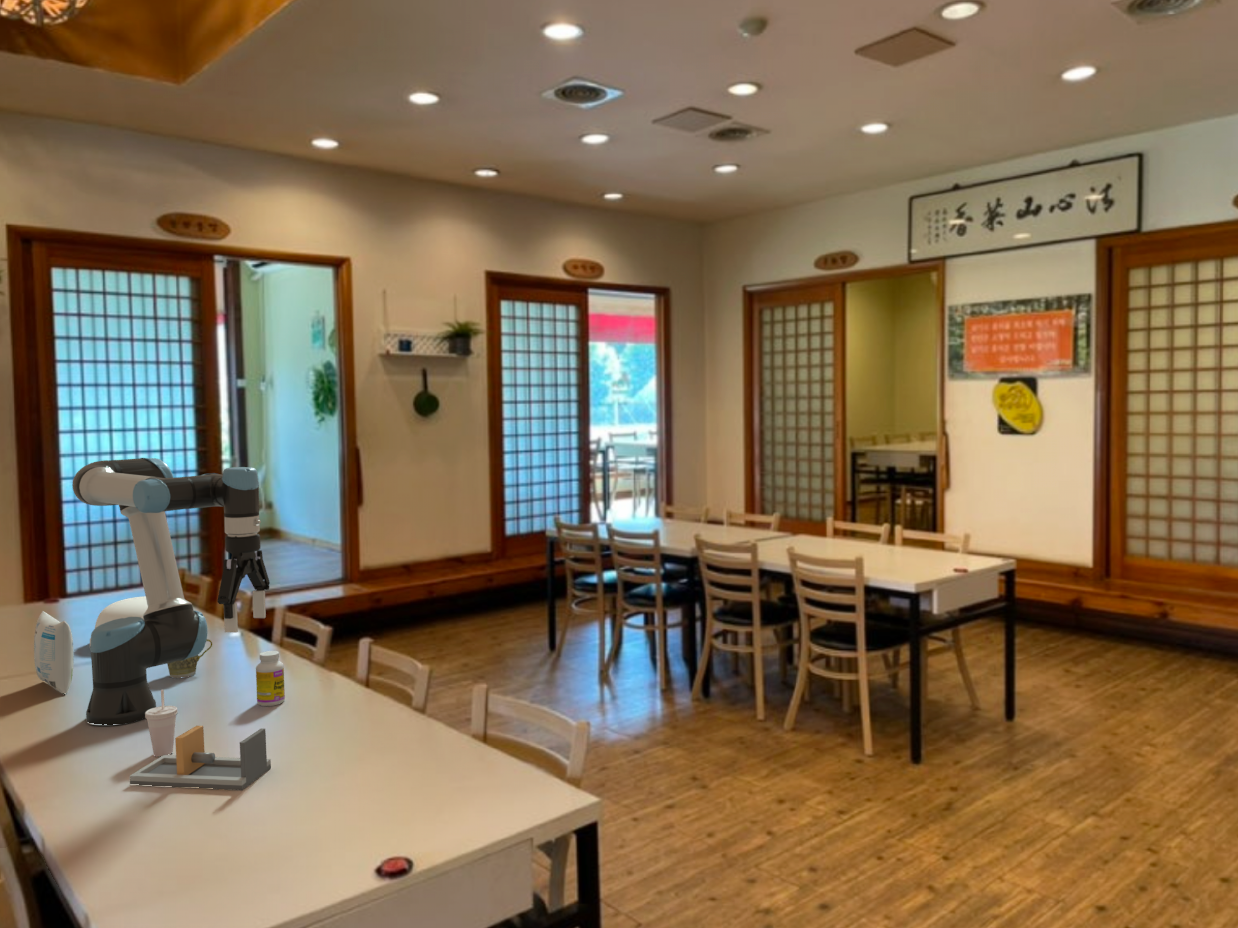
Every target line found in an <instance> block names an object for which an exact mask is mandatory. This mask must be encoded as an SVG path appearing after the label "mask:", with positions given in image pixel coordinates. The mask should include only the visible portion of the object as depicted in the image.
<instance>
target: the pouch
mask: <svg viewBox="0 0 1238 928" xmlns="http://www.w3.org/2000/svg"><path fill="white" fill-rule="evenodd" d="M33 637H34V638H33V646H34V648H33V653H34V654H33V659H34V667H35V672H36V675H37V677H38V678H39V680H41V682H43V681H45V682H46V683H47V684H48V685H49V686H51V687H53V688H54V689H55V690H56V691H58V692H59V693H61V694H62V693H68V692H69V690H70V688H71V684H72V680H73V673H74V663H75V662H74V661H75V659H74V657H75V656H74V653H75V652H74V639H73V638H74V637H73V634H72V630H71V627H70V625H69V623H67V621H65V620H62V621H59V620H58V619H56V618H55V617H53V616H52V615H50V614H49V613H47V612H45V611H44V610H42V611H41V613H40V614H39V616H38V618H37V621H36V625H35V631H34V636H33Z"/></svg>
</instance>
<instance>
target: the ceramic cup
mask: <svg viewBox="0 0 1238 928" xmlns="http://www.w3.org/2000/svg"><path fill="white" fill-rule="evenodd" d="M206 642H210V646H209V647H208V648H206V650H204V651H203V652H202V654H198V655H197V656H194V657H191V658H187V659H186V660H183V661H175V662H171V663H167V668H168V673H169V677H170V678H171V677H173V678H172V679H182V678H181V677H185V678H189V677H188V676H190V677H191V675H192V676H194V674H195V675H196V672H197V667H198V666H197V664H198V662H199V660H200V659H201V658H202V657H203V656H204V655H205V653H206V652H208V651H209V650H210V649H211V648H212V647H213V641H212V640H211V639H209V638H207V641H206Z"/></svg>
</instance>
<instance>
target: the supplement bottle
mask: <svg viewBox="0 0 1238 928" xmlns="http://www.w3.org/2000/svg"><path fill="white" fill-rule="evenodd" d="M279 658H280V651H277V650H268V651H262V652H260V653H259V660H260V662H259V663H258V664H257V665H256V667H255V678H256V681H255V683H256V684H255V685H256V703H257V704H258V705H259V706H262V707H273V706H278V705H281V704H282V703H284V702H285V698H286V695H285V669H284V668H285V667H284V663H283V662H282V661H280V660H279Z"/></svg>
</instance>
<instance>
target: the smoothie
mask: <svg viewBox="0 0 1238 928" xmlns="http://www.w3.org/2000/svg"><path fill="white" fill-rule="evenodd" d="M160 696H161V697H160V698H161V699H160V700H161V706H156V707H155V708H152V709H149V710H148V711H146V712H145V719H146V721H147V726H148V731H149V736H150V742H151V746H152V752H153V753H152V754H153V756H154V755H155V756H163V755H168V754H170V753H172V752H173V753H174V745H175V742H174V741H175V732H176V731H175V730H176V719H177V714H178V707H177V706H174V705H165V690H164V689H161V690H160ZM173 753H172V754H173ZM170 755H171V754H170ZM155 756H154V757H155Z"/></svg>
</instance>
